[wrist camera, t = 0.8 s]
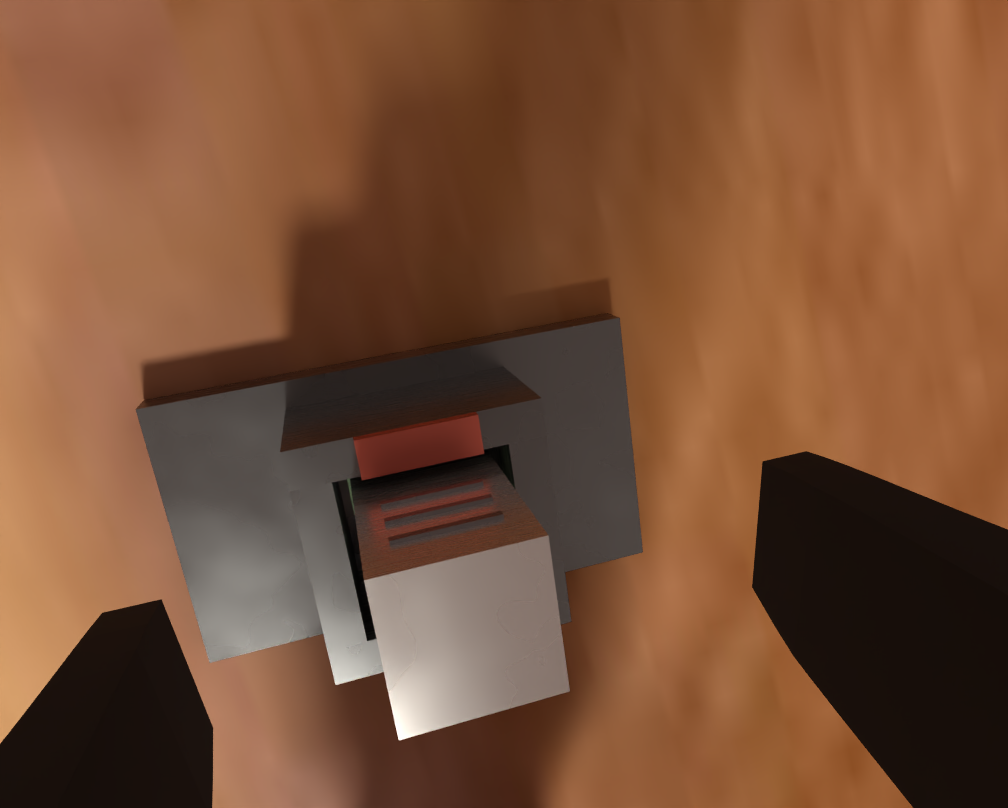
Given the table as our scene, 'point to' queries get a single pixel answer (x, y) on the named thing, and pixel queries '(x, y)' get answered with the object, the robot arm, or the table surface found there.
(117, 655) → the robot arm
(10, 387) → the table surface
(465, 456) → the jack housing
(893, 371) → the table surface
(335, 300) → the table surface
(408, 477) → the block
